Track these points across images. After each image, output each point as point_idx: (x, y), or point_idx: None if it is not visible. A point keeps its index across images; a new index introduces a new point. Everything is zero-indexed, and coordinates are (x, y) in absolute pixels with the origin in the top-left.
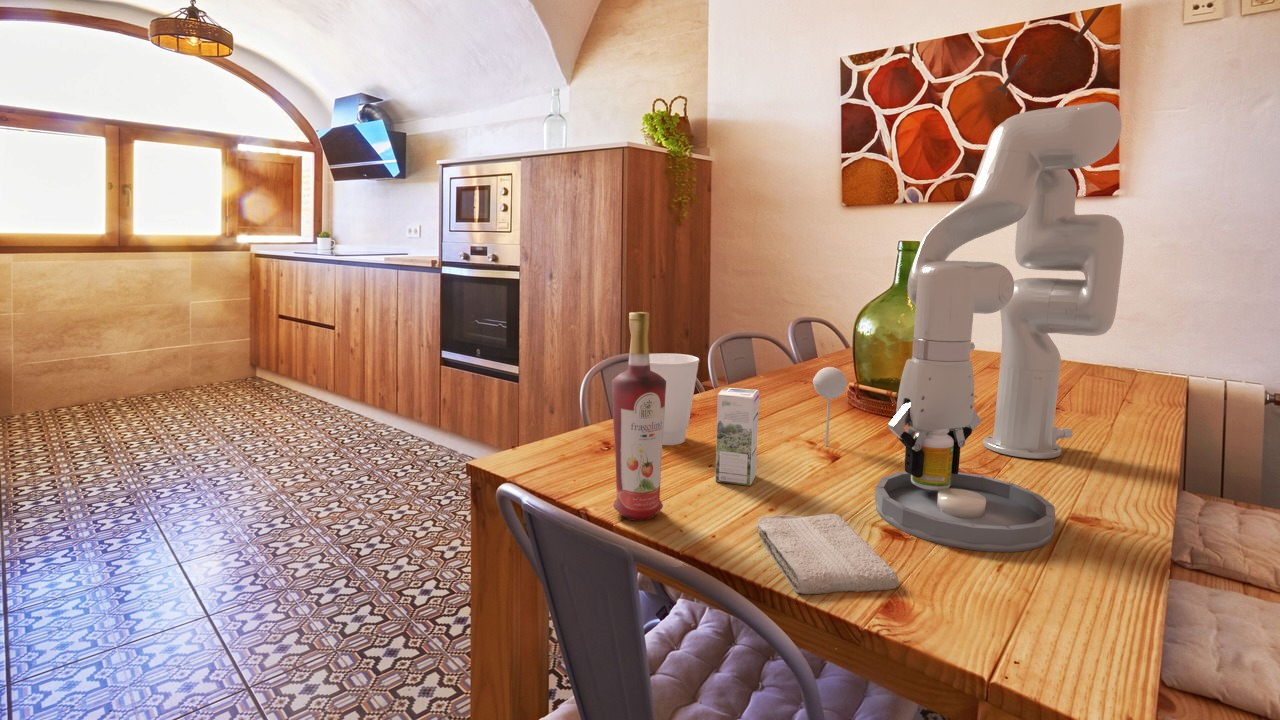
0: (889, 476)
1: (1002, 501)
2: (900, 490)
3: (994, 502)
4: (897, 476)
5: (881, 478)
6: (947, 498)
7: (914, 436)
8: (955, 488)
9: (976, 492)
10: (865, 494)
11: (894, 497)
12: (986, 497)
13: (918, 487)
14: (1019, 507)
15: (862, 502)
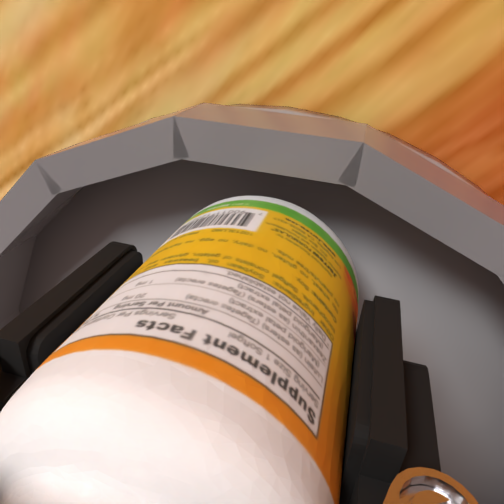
0: (83, 162)
1: (487, 444)
2: (168, 178)
3: (443, 433)
4: (131, 171)
5: (29, 169)
6: None
7: (3, 410)
8: (454, 272)
9: (498, 347)
10: (53, 79)
11: (95, 230)
12: (472, 396)
13: (280, 183)
14: (481, 493)
15: (7, 153)
